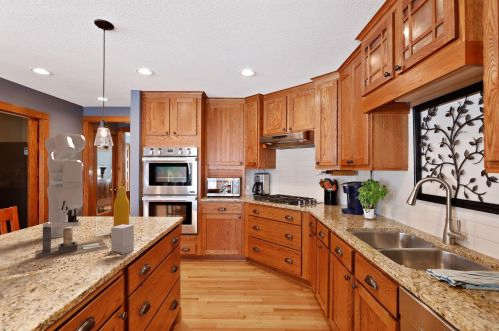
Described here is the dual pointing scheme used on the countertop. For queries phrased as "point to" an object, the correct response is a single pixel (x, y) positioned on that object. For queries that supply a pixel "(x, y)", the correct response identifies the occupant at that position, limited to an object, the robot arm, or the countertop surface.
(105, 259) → the countertop surface
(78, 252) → the eye board
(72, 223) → the locking bar
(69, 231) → the oak peg
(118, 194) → the beer bottle
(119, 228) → the supplement box
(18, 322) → the countertop surface
